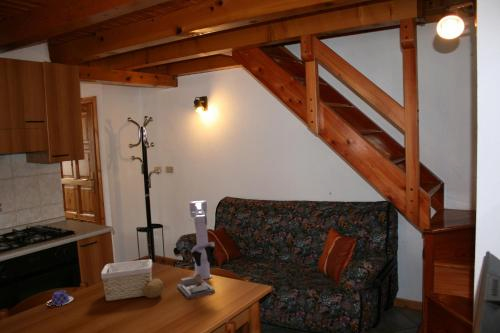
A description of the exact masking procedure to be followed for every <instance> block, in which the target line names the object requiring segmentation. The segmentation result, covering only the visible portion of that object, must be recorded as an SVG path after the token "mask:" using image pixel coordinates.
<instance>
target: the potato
mask: <svg viewBox="0 0 500 333" xmlns="http://www.w3.org/2000/svg"><path fill="white" fill-rule="evenodd" d="M142 291H143V294H144V295H145V297H146V298H149V299H154V298H155V299H156V298H157V297H159V296H160V295H161V294H162V293H163V291H164V283H163V281H162V279H160V278H152V280H150V281H149V282H148V283H146V284H145V286H144V287H143V290H142Z"/></svg>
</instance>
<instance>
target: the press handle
mask: <svg viewBox="0 0 500 333" xmlns="http://www.w3.org/2000/svg"><path fill="white" fill-rule="evenodd" d="M194 275H195V274H194ZM195 278H196V285H192V286H190V291H191V292H192V293H193V292H198V291H202V290H206V289H208V285H209V284H208V283H207V282H206V283H201V274H197V275H195ZM207 284H208V285H207Z"/></svg>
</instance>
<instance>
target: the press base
mask: <svg viewBox="0 0 500 333" xmlns="http://www.w3.org/2000/svg"><path fill="white" fill-rule="evenodd" d="M201 283H207V281H205V279H202V280H201ZM192 285H196V278H195V276H194V275H193V276H189V277H184V278H180V283H179V284H177V285H176V288H177V289H178V290H179V291H180V293H181V294H184V295H185V296H184V295H183V296H184V297H185V298H186V299H187V300H189V298H190V299H194V298H197V297H198V296H199V297H202V295H203V296H207V295H211V294H210V293H212V294H215V292H216V291H215V288H213V287H212V286H211V285H210V284H208V283H207V285H208V289H206V290H202V291H198V292H193V293H192V292H191V291H190V286H192ZM206 294H207V295H206ZM193 297H194V298H193ZM199 297H198V298H199Z"/></svg>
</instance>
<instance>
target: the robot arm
mask: <svg viewBox="0 0 500 333" xmlns="http://www.w3.org/2000/svg"><path fill="white" fill-rule="evenodd" d="M207 204H208V203H207V200H206V199H205V200H195V201H193V200H192V201H189V213H190V214H189V215H190V217H191V218H193V219H194V220H193V222H194V227H195V237H196V239H195V240H196V244H195V245H194V246H193V248H192V249H190V250H191V251H190V252H191V253H190V254H191V256H192V257H193V258H192V259H193V260H192V261H193V262H195V263H194V274H193V276H195V275H197V274H201V280H202V279H203V280H208V279H212V278H213V276H212V275H211V270H210V263H212V262H213V256H214V252H215V251H216V245H215V241H211V242H209V237H208V236H209V235H208V228H207V226H208V217H207V214H208V205H207Z"/></svg>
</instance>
